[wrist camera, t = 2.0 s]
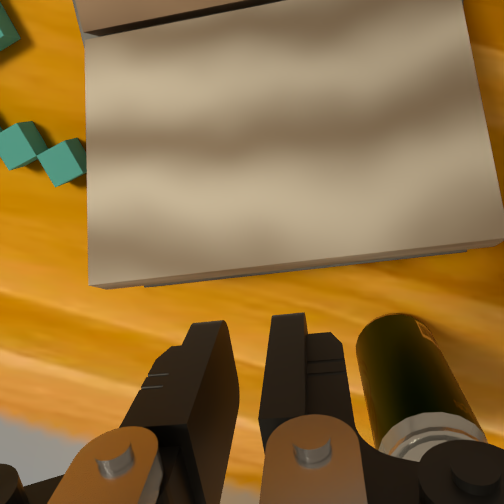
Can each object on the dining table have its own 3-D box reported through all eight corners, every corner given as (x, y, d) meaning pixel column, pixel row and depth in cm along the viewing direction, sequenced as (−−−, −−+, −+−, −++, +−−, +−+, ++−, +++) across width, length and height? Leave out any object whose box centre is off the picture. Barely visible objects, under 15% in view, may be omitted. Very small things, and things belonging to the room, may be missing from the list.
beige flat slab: (101, 60, 28) (84, 39, 26) (445, -5, 25) (454, -33, 24) (107, 289, 26) (88, 285, 24) (494, 246, 23) (509, 237, 21)
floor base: (44, -125, 26) (19, -145, 24) (456, -230, 23) (473, -265, 21) (146, 285, 34) (135, 299, 32) (464, 249, 31) (477, 262, 28)
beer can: (390, 294, 32) (438, 405, 21) (448, 339, 33) (524, 470, 22) (338, 346, 34) (357, 475, 23) (394, 388, 35) (439, 533, 23)
